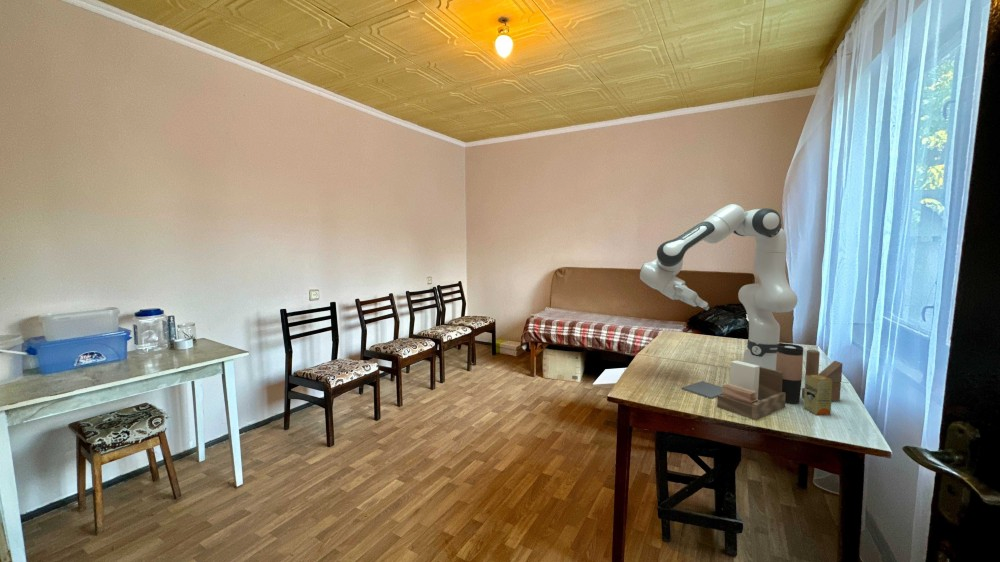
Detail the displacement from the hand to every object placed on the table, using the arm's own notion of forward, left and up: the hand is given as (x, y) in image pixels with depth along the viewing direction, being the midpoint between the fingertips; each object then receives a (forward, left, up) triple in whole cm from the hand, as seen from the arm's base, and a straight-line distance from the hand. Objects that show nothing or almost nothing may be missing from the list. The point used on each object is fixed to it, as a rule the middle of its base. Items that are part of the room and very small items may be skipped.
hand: (707, 307), depth 153 cm
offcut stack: (+13, +20, -32) cm, 40 cm away
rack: (+6, +20, -32) cm, 38 cm away
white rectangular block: (+4, +17, -32) cm, 36 cm away
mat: (+4, +3, -32) cm, 32 cm away
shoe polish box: (-8, +34, -32) cm, 48 cm away
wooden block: (-22, +30, -32) cm, 49 cm away
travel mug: (-11, +24, -32) cm, 42 cm away
